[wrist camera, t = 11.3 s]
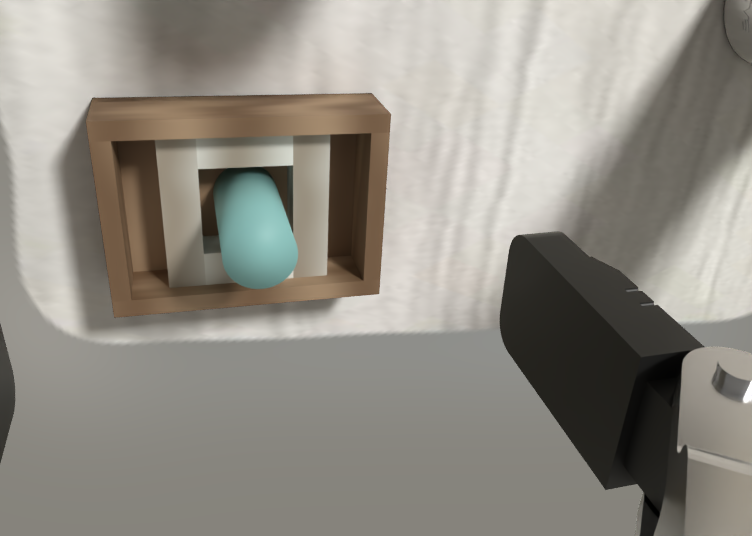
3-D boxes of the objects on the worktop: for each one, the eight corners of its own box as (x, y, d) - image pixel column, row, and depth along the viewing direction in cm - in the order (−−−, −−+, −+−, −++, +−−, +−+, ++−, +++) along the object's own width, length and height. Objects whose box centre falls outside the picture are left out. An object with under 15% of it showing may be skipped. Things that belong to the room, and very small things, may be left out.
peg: (277, 162, 40) (299, 220, 34) (276, 220, 42) (297, 286, 35) (211, 163, 39) (221, 223, 33) (214, 222, 41) (223, 291, 34)
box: (371, 93, 41) (390, 114, 37) (363, 262, 46) (379, 294, 43) (92, 98, 37) (85, 121, 34) (117, 281, 42) (114, 317, 39)
